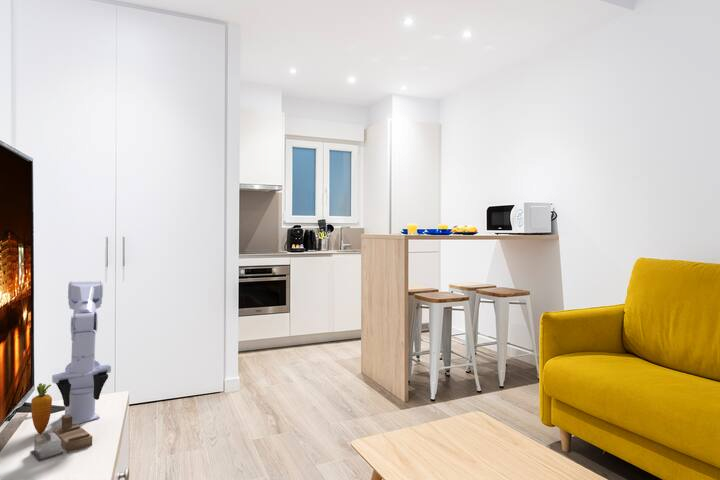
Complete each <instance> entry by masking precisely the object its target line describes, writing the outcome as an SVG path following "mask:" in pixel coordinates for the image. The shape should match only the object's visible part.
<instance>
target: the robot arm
mask: <svg viewBox="0 0 720 480" xmlns="http://www.w3.org/2000/svg"><path fill="white" fill-rule="evenodd" d="M103 287H104V282H103V281H102V280H98V281H97V280H96V281H72V280H70V282H68V289H67V299H68V306H69V309H70V310H73V314H72V315H71V316H70V333H71V334H70V335H71V337H70V338H71V362H69V363H68V364H67V365H66V367H65V368H64V369H65V370H64V371H63V372H59V373H56V374H52V377H51V382H52V383H53V384H56V386H57V388H58V390H59V393H60V394H61V397H62V401H63V406H64V414H62V415H61V418H62V416H63V415H67V414H70V415H71V416H72V424H78V425H80V424H83V423H86V422H90V421H92V420H93V421H94V420H97V419H100V415H99V414H97V412H96V400H97V401H99V399H100V396H101V393H102V389H103V387H104V385H105V384H106V382H107V380H108V379H109V374H110V373H111V372H112V366H111V365H110V364H105V365H103V364H102V365H101V364H100V361H98V360H96V358H95V357H96V333H97V331H98V322H99V321H98V319H99V318H98V317H99V316H98V311H97V309H99V308H101V306H102V303H103V292H104V291H103V290H104V288H103ZM108 373H109V374H108Z"/></svg>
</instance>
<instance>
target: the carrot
mask: <svg viewBox="0 0 720 480" xmlns="http://www.w3.org/2000/svg"><path fill="white" fill-rule="evenodd" d="M51 386H52V385H51V384H48V385H47V384H46V383H41V382H40V383H39V384H38V386H36V391H37V393H38V395H36V396H33V397H32V399H31V403H30V404H31V405H30V406H31V408H30V409H31V410H30V411H31V419H32V423H33V427H34V429H35V430H36V432H37V434H38V435H39V436H42V435H43V433H45V430H46V429H47V426H48V425H49V421H50V418H51V414H52V406H53V405H52V403H53V398H52V396H51V395H50V394H46V393H47V392H48V391H47V390H48V389H49V388H50V387H51Z"/></svg>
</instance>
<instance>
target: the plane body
mask: <svg viewBox="0 0 720 480" xmlns="http://www.w3.org/2000/svg"><path fill="white" fill-rule="evenodd" d="M62 415H63V416H62V417H61V427H58V428H55V429H52V433H55V434H56V435H57V436H58V437H59V438H60V439H61V449H63V450H64V451H65V452H66V453H71V452H74V451H77V450H81V449H82V450H83V449H84V448H88V447H91V446H93V435H91V434H90V433H89V432H88V431H87V430H85V429H84V428H83V427H82V426H80V424H72V416H71V415H70V414H67V415H64V414H62Z"/></svg>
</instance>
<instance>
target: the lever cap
mask: <svg viewBox="0 0 720 480" xmlns="http://www.w3.org/2000/svg"><path fill="white" fill-rule="evenodd" d="M33 441H34V444H33V450H34V452H35V453H36V454H37V455H38V456H39V458H40V459H43V458H46V457H49V456H53V455H56V454H59V453H61V451H62V447H61V439H60V438H59V437H58V436H57V435H56V434H55V433H53V432H43V433H42V435H39V436H35V437H34V439H33Z"/></svg>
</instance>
